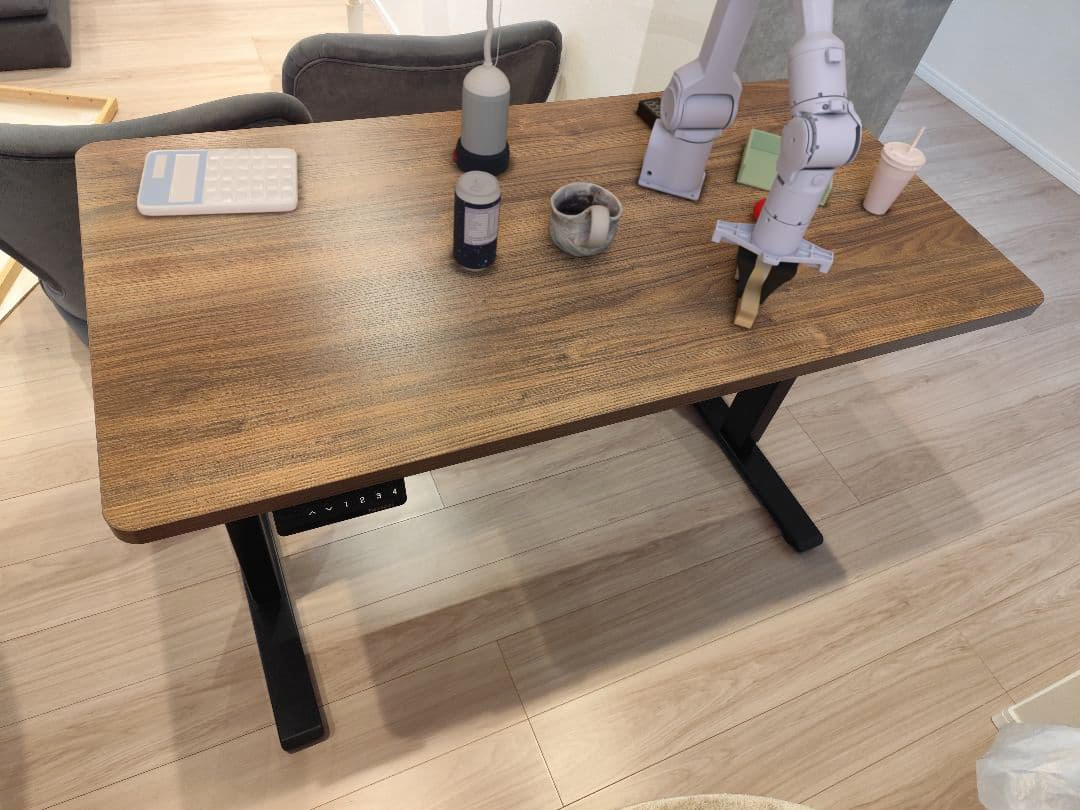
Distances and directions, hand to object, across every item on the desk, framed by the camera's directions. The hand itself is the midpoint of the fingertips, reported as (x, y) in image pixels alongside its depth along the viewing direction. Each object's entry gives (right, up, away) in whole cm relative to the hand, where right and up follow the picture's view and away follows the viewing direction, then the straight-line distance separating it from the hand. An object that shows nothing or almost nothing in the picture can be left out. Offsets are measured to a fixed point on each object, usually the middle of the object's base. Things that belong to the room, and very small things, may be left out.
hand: (749, 296), depth 96 cm
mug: (-22, +7, +5) cm, 23 cm away
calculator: (-71, +16, +5) cm, 73 cm away
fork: (+1, +2, +3) cm, 4 cm away
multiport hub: (-7, +33, +28) cm, 44 cm away
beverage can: (-36, +5, +1) cm, 37 cm away
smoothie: (+26, +17, +20) cm, 37 cm away
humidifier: (-36, +23, +16) cm, 46 cm away
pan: (+13, +26, +26) cm, 39 cm away
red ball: (+6, +15, +13) cm, 21 cm away
